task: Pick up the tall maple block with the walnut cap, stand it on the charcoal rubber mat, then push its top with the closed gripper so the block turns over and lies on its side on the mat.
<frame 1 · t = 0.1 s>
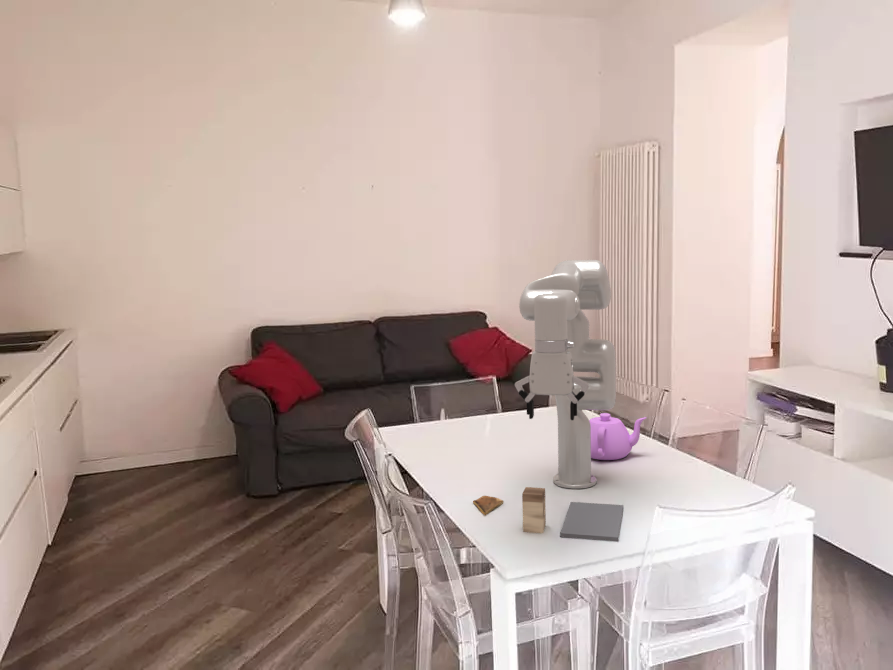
hand: (551, 418, 190), 31 cm above the table, fingers open, 9 cm apart
shard: (491, 509, 220), on the table
mat: (592, 522, 207), on the table
maple block: (534, 528, 204), on the table
teapot: (612, 456, 262), on the table
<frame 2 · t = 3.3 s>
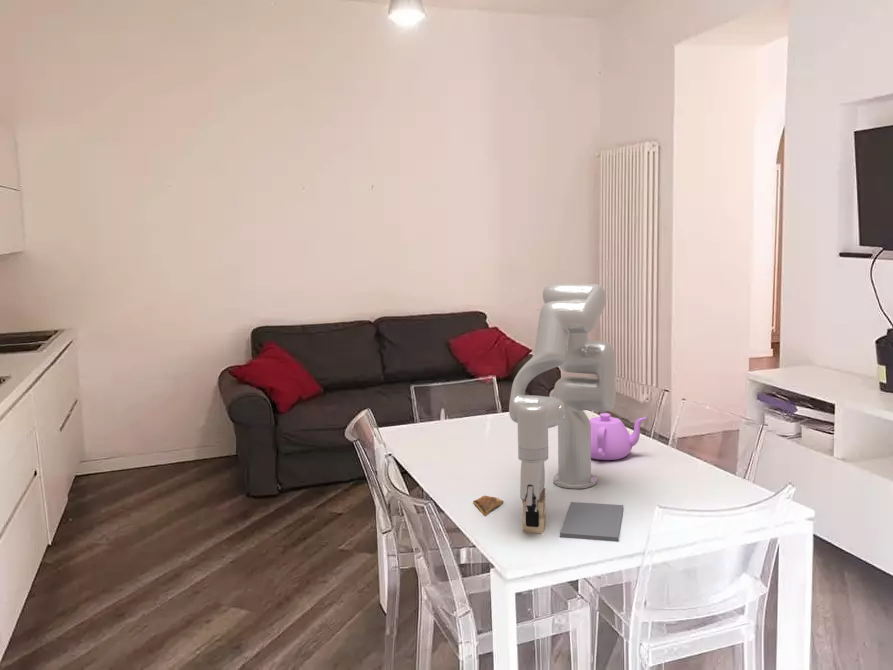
hand: (534, 521, 203), 2 cm above the table, fingers closed on maple block, 5 cm apart
maple block: (534, 528, 204), on the table, touching gripper
everything else where it was.
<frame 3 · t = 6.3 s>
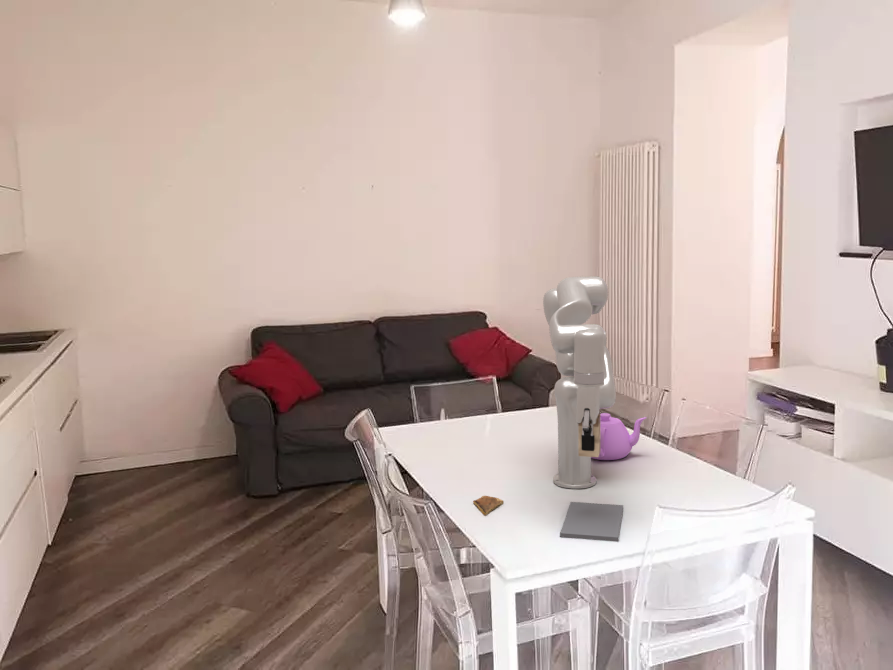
hand: (589, 446, 207), 19 cm above the table, fingers closed on maple block, 5 cm apart
maple block: (589, 453, 208), point 17 cm above the table, touching gripper
everything else where it was.
when the fingers open (4 cm above the table, at t = 9.8 s): maple block stays where it is, resting on mat.
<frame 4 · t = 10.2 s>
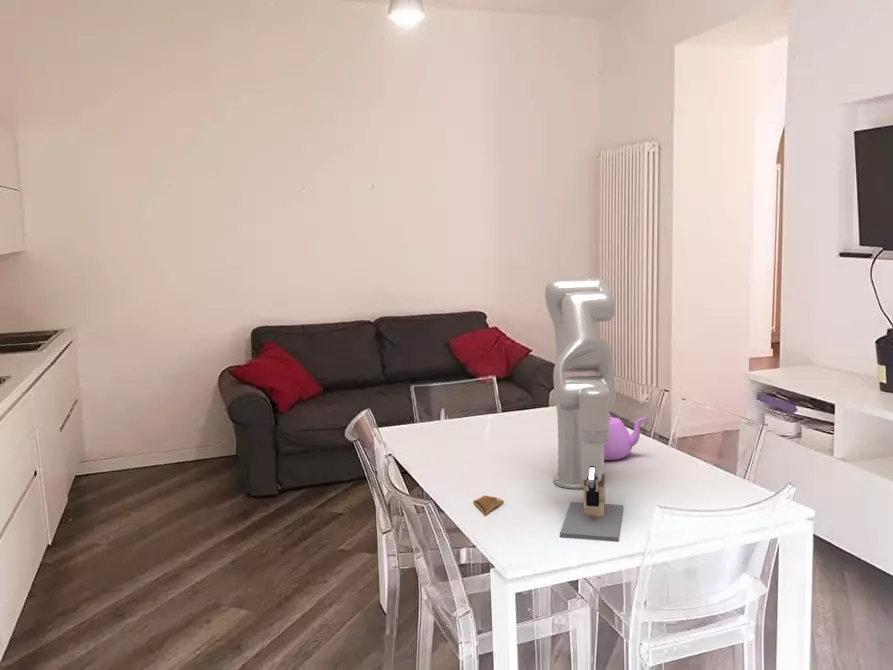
hand: (594, 499, 210), 5 cm above the table, fingers open, 8 cm apart
maple block: (594, 512, 210), point 1 cm above the table, touching mat
everything else where it was.
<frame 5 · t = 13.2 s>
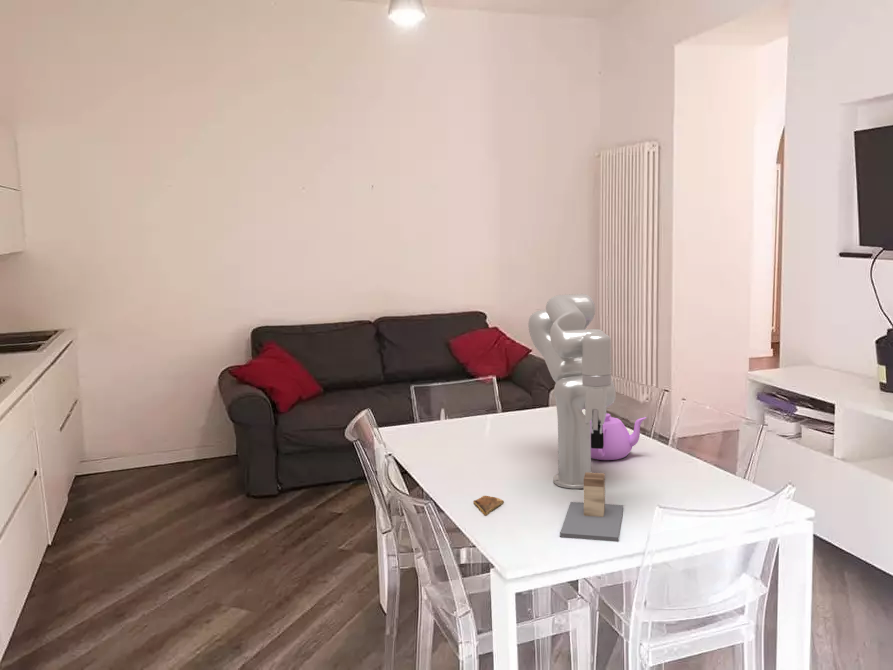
hand: (597, 447, 215), 16 cm above the table, fingers closed
nothing on the table moved.
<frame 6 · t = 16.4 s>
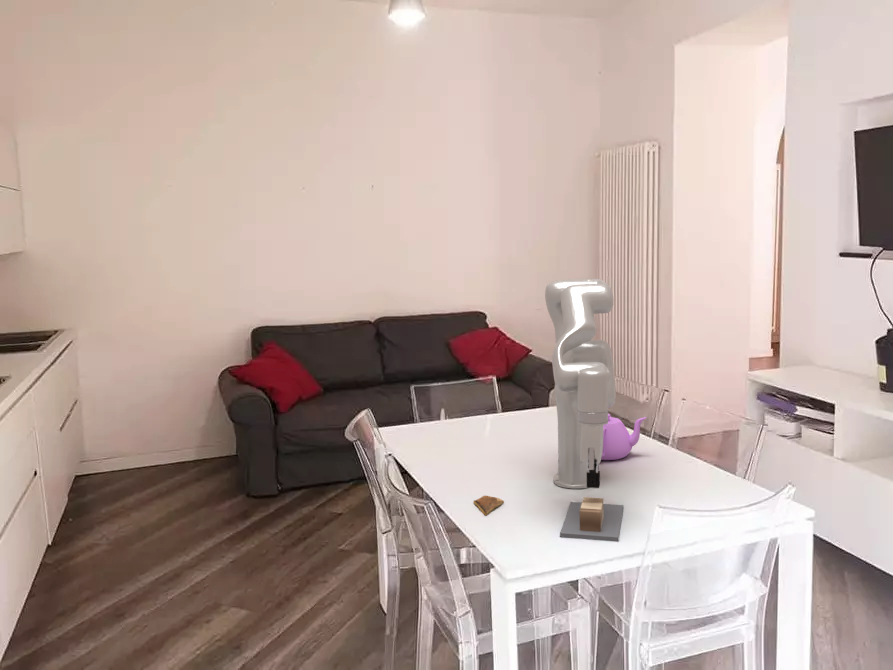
hand: (593, 486, 206), 9 cm above the table, fingers closed
maple block: (593, 506, 208), point 3 cm above the table, tilted 90°, touching mat
everything else where it was.
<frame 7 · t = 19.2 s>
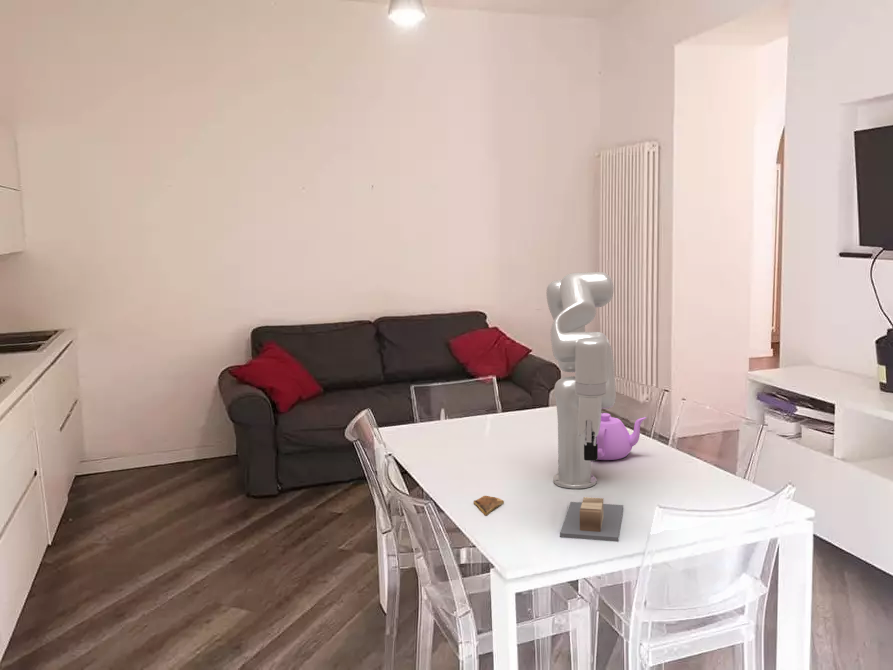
hand: (590, 459, 201), 18 cm above the table, fingers closed
nothing on the table moved.
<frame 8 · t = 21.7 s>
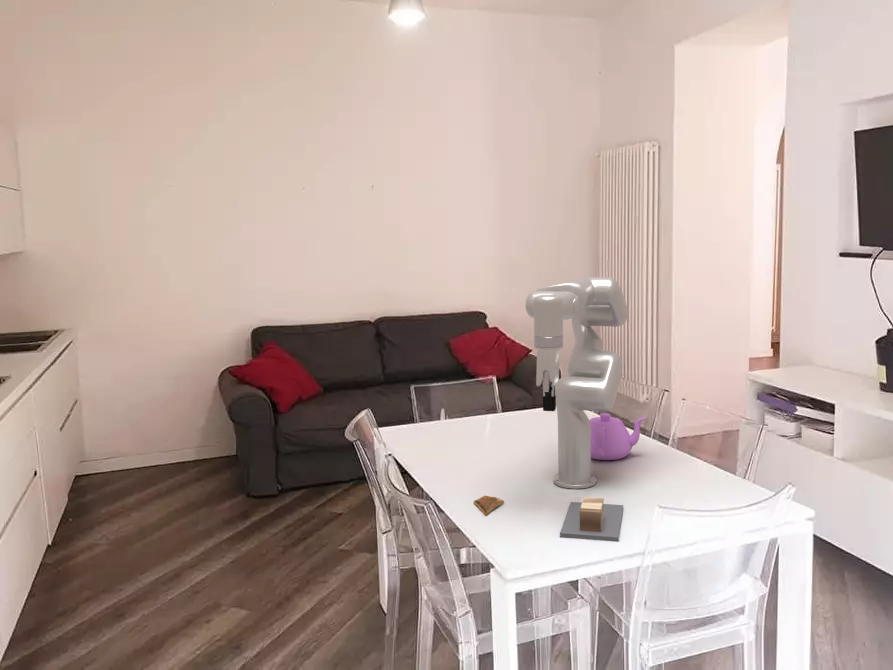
hand: (549, 410, 213), 27 cm above the table, fingers closed
nothing on the table moved.
at the end: maple block tilted 90°; maple block inside the target area (3.6 cm from its centre), point 3.5 cm above the table; maple block touching mat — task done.
